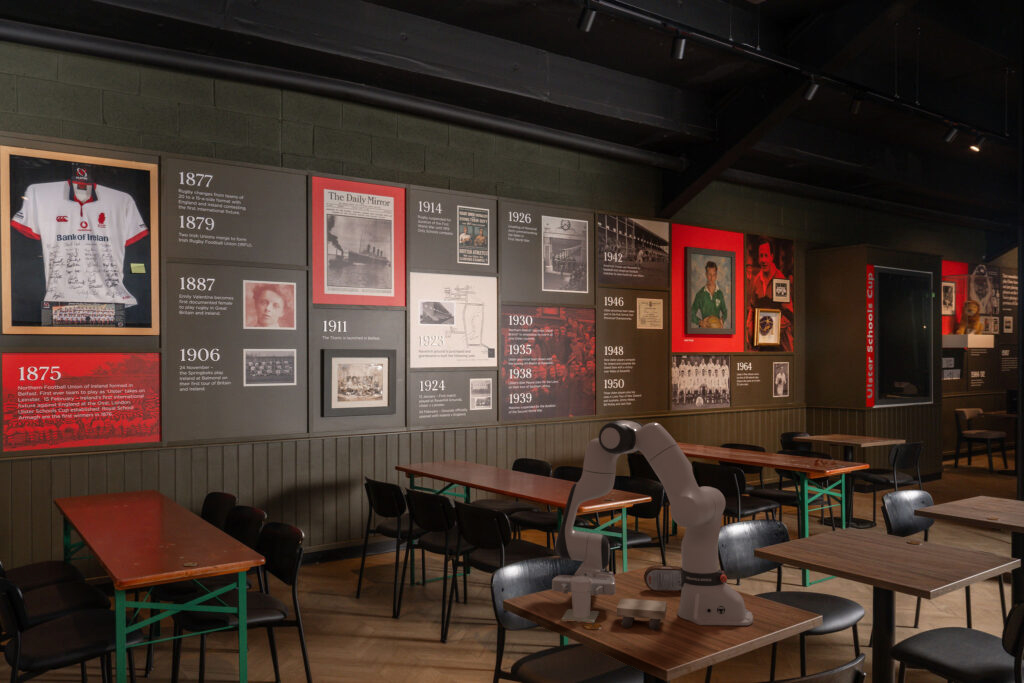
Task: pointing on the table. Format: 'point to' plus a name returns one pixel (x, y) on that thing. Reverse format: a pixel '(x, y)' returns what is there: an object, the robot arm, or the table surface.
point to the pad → (591, 618)
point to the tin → (663, 578)
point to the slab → (642, 611)
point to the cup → (581, 596)
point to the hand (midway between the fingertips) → (580, 591)
